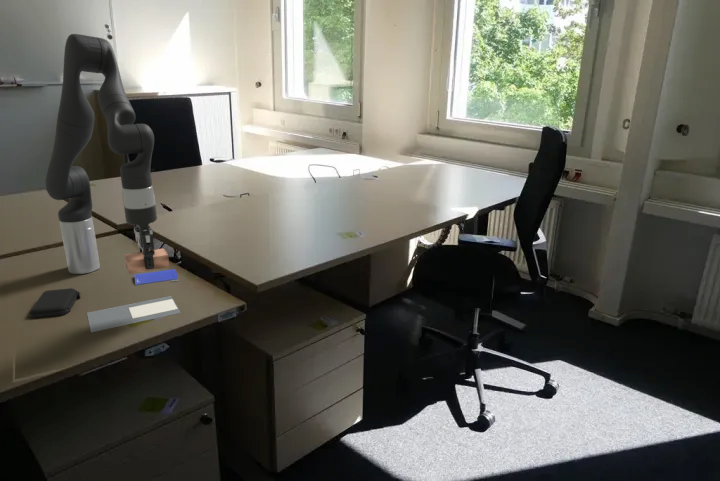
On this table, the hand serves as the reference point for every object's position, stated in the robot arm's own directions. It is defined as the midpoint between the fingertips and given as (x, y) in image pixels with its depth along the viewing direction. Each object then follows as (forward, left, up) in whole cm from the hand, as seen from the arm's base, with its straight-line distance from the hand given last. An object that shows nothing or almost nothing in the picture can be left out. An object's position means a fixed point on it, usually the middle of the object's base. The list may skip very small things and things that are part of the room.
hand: (147, 264), depth 142 cm
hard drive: (-22, +5, -15) cm, 27 cm away
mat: (0, -5, -14) cm, 15 cm away
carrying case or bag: (-15, -23, -14) cm, 31 cm away
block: (0, 0, -1) cm, 1 cm away
